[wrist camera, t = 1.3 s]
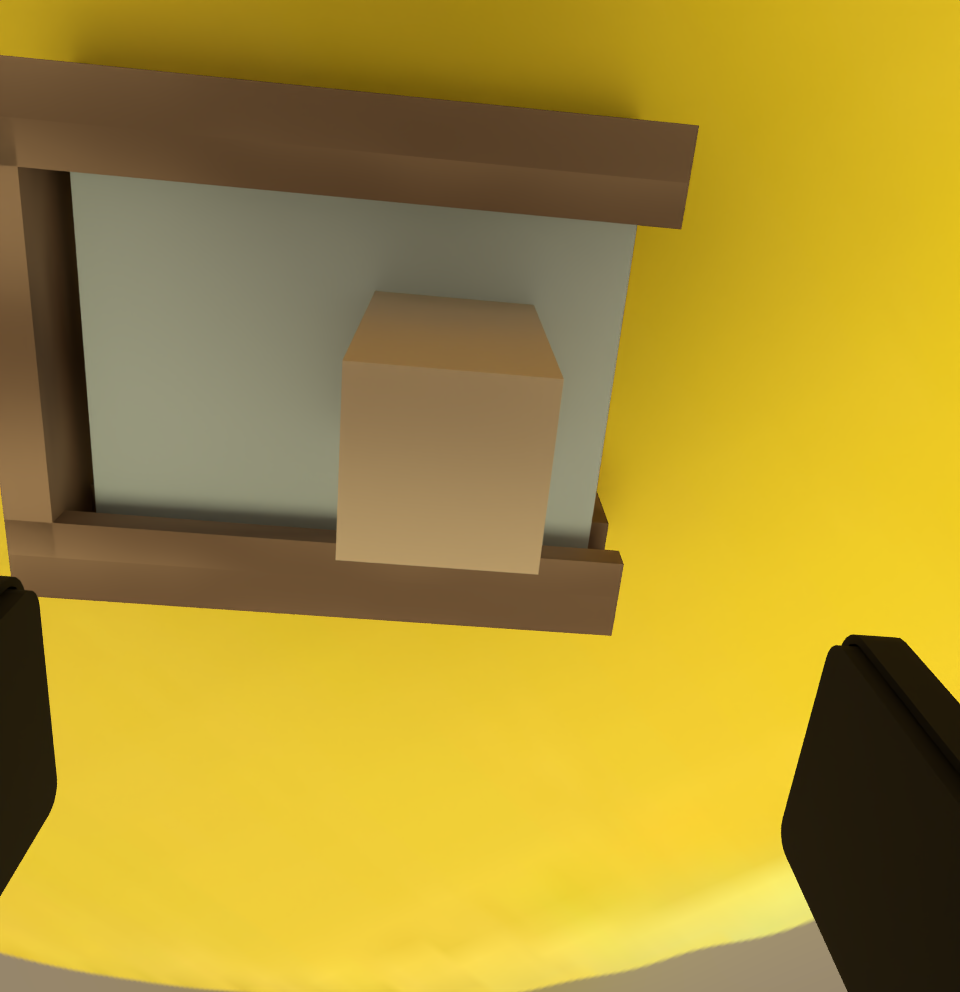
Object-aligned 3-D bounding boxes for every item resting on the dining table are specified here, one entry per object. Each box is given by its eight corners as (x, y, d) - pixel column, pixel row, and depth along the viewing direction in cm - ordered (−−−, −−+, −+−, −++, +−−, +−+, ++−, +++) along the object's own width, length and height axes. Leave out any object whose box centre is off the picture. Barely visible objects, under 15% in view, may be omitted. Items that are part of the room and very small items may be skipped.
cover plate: (83, 136, 22) (-105, 147, 15) (634, 190, 23) (719, 225, 15) (110, 505, 26) (-30, 661, 18) (581, 540, 27) (629, 703, 19)
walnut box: (71, 66, 25) (-53, 49, 19) (642, 123, 26) (698, 125, 20) (103, 498, 30) (13, 595, 24) (581, 533, 31) (611, 635, 25)
